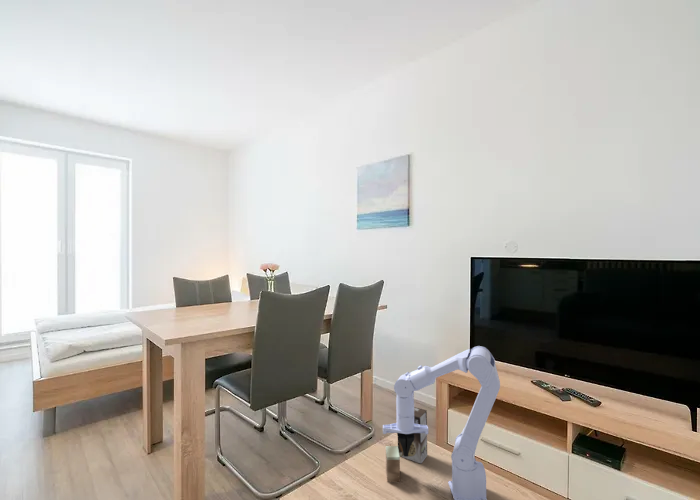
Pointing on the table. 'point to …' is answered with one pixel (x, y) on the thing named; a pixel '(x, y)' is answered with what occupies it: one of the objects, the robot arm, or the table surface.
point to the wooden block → (392, 464)
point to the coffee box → (417, 439)
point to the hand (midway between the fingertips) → (405, 454)
